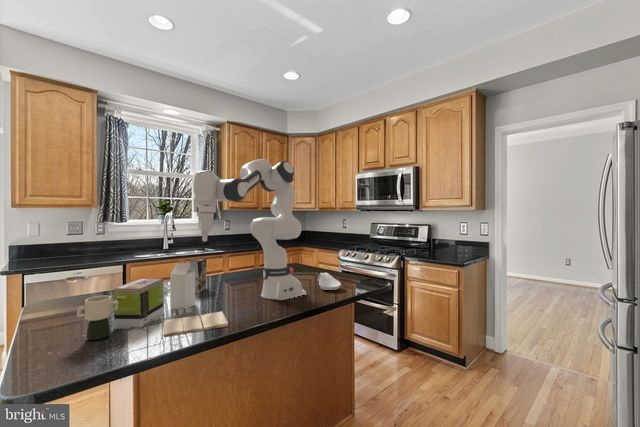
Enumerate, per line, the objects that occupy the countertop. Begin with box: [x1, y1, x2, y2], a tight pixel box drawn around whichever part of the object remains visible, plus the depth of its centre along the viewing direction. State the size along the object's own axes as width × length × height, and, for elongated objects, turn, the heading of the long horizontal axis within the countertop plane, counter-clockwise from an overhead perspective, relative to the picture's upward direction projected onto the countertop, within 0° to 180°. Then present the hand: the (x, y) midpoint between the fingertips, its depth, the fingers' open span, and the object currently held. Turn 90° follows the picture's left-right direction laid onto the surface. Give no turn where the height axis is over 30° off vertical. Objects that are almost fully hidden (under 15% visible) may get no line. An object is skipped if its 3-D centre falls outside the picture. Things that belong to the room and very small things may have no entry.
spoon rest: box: [317, 272, 342, 291], centre depth 167 cm, size 24×12×7 cm, turn 16°
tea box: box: [113, 278, 165, 330], centre depth 113 cm, size 15×10×15 cm, turn 178°
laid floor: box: [163, 315, 203, 337], centre depth 107 cm, size 12×14×2 cm
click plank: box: [199, 310, 229, 331], centre depth 111 cm, size 8×14×2 cm, turn 27°
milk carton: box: [169, 262, 196, 310], centre depth 130 cm, size 7×7×19 cm
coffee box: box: [187, 258, 207, 294], centre depth 158 cm, size 9×6×16 cm
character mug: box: [76, 295, 118, 341], centre depth 98 cm, size 11×7×13 cm, turn 135°
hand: (204, 241), depth 127 cm, fingers closed
